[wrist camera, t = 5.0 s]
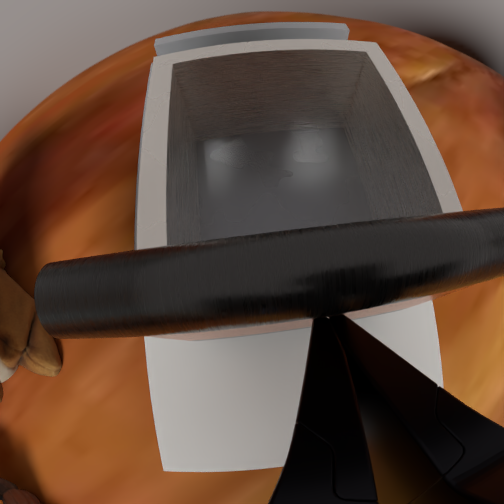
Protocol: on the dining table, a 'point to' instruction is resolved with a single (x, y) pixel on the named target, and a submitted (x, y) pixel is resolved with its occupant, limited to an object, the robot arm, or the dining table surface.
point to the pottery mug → (15, 494)
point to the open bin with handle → (277, 202)
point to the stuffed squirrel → (23, 333)
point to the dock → (253, 343)
